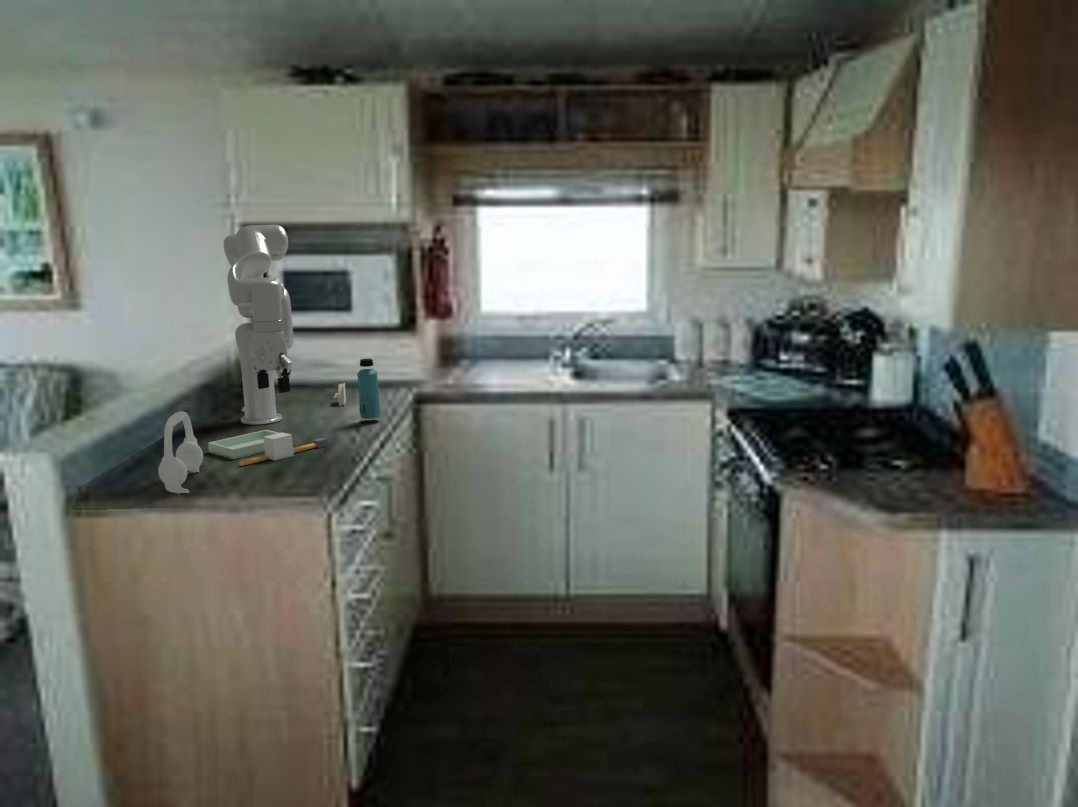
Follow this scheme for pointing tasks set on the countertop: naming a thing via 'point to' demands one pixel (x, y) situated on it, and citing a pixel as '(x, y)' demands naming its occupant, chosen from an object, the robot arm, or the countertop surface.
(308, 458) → the countertop surface
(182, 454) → the headset
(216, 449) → the tray
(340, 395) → the architectural model
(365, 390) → the beverage bottle
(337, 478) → the countertop surface
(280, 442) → the pale grey cuboid
